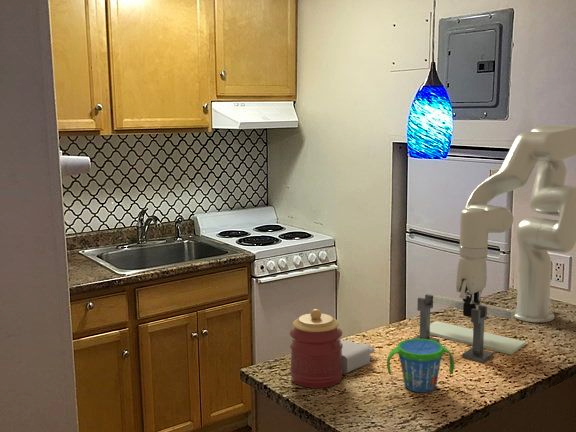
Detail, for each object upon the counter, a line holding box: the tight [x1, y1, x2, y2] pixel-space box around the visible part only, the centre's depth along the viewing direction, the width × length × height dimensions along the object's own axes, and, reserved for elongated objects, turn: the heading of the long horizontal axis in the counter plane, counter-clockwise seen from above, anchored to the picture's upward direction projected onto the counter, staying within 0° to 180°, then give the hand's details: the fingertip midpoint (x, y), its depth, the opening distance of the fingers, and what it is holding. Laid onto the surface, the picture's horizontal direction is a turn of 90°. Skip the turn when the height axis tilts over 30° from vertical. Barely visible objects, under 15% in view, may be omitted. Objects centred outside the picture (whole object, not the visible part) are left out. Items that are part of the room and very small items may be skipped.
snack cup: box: [386, 338, 455, 393], centre depth 149 cm, size 16×10×10 cm
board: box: [418, 320, 527, 355], centre depth 181 cm, size 10×28×1 cm, turn 47°
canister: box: [289, 308, 344, 389], centre depth 155 cm, size 13×13×18 cm
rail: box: [433, 294, 515, 320], centre depth 180 cm, size 2×24×2 cm, turn 47°
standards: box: [412, 294, 495, 364], centre depth 172 cm, size 6×22×14 cm, turn 48°
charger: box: [341, 339, 376, 374], centre depth 166 cm, size 5×9×15 cm
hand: (471, 314), depth 180 cm, fingers closed on rail, 2 cm apart
